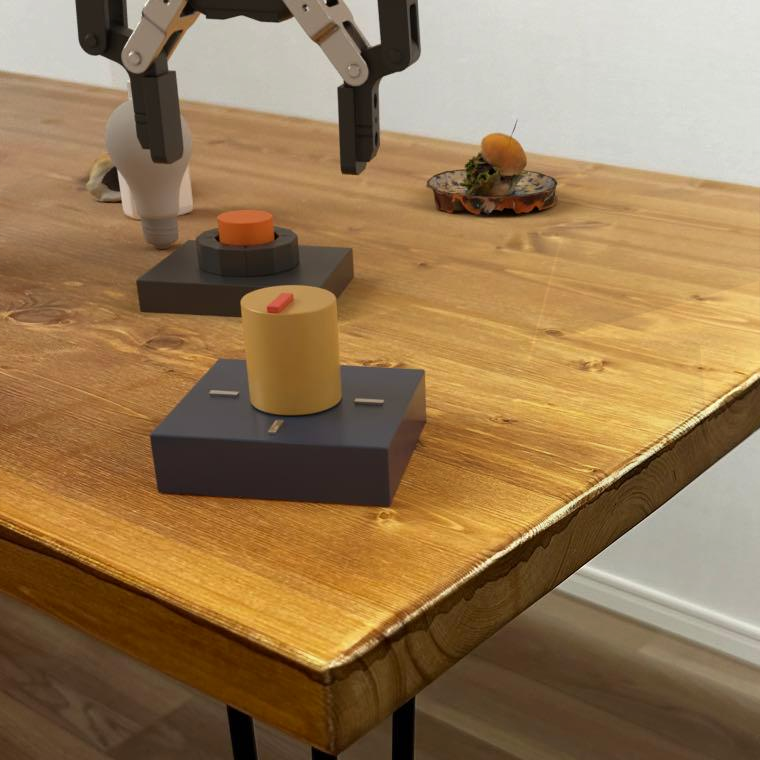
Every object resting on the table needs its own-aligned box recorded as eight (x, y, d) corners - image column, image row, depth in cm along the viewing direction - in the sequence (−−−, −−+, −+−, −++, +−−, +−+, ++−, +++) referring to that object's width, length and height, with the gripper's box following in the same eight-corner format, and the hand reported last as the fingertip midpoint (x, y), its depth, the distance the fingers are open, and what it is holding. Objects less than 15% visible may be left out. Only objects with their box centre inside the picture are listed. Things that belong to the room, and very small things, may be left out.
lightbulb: (205, 236, 95) (188, 90, 89) (203, 258, 89) (185, 104, 84) (124, 239, 93) (103, 91, 88) (117, 261, 88) (94, 105, 83)
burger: (514, 181, 115) (515, 99, 111) (584, 208, 106) (587, 120, 102) (402, 194, 109) (400, 108, 105) (466, 223, 100) (465, 131, 97)
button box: (140, 312, 78) (131, 252, 76) (191, 269, 87) (185, 214, 85) (320, 322, 77) (316, 261, 75) (354, 277, 86) (351, 222, 84)
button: (212, 248, 79) (209, 221, 78) (229, 234, 82) (227, 208, 81) (266, 250, 79) (263, 224, 78) (281, 236, 82) (279, 211, 81)
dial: (268, 378, 60) (259, 275, 58) (352, 385, 60) (347, 282, 57) (236, 411, 56) (225, 303, 54) (326, 419, 56) (319, 310, 53)
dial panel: (157, 493, 56) (148, 430, 54) (224, 410, 64) (218, 354, 63) (390, 507, 55) (387, 445, 53) (426, 422, 64) (425, 366, 62)
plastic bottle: (193, 219, 99) (175, 66, 93) (122, 221, 98) (99, 66, 92) (194, 207, 103) (177, 58, 97) (126, 209, 102) (105, 58, 96)
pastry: (113, 179, 111) (108, 136, 110) (187, 180, 112) (182, 138, 110) (85, 202, 103) (78, 157, 101) (164, 204, 104) (159, 159, 102)
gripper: (430, -251, 48) (432, 159, 56) (90, -265, 49) (138, 141, 57) (392, -273, 42) (400, 195, 50) (1, -287, 43) (69, 174, 51)
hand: (260, 166), depth 53 cm, fingers open, 8 cm apart
